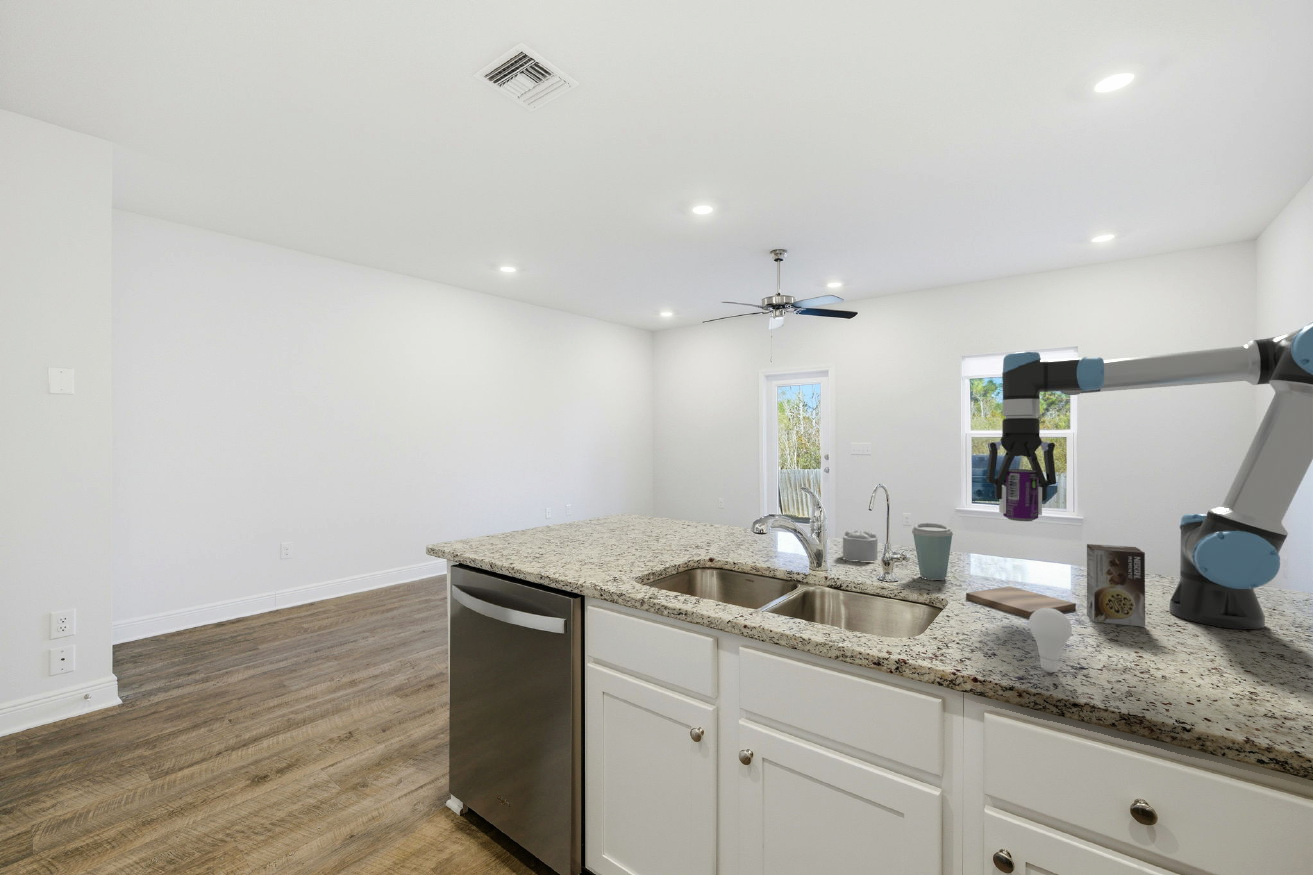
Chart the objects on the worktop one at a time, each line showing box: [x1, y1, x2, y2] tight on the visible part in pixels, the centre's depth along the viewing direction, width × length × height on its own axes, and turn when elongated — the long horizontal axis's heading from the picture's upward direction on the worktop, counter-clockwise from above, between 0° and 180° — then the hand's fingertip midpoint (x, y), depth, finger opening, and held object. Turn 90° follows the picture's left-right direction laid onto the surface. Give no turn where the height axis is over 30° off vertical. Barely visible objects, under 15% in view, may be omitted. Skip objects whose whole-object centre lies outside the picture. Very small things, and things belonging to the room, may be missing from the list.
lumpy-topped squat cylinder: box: [842, 529, 878, 562], centre depth 187 cm, size 10×13×9 cm
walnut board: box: [965, 585, 1077, 619], centre depth 137 cm, size 16×16×2 cm
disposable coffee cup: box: [911, 522, 954, 581], centre depth 161 cm, size 11×11×15 cm
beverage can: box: [1002, 468, 1039, 522], centre depth 137 cm, size 7×7×12 cm
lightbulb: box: [1028, 608, 1073, 674], centre depth 98 cm, size 6×6×11 cm
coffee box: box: [1086, 543, 1146, 628], centre depth 125 cm, size 9×6×16 cm
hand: (1020, 513), depth 137 cm, fingers closed on beverage can, 7 cm apart
